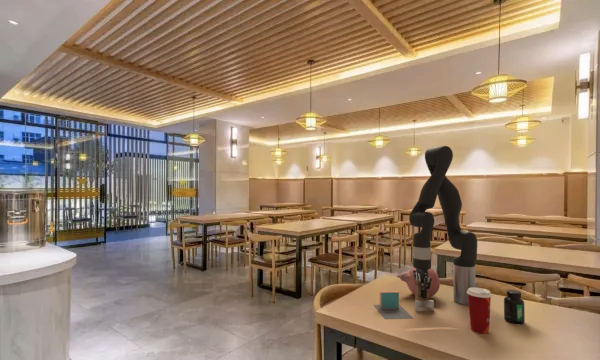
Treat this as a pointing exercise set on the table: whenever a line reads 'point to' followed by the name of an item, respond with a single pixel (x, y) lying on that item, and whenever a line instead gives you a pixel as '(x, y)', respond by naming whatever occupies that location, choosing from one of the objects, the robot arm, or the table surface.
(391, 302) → the tile
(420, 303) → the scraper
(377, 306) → the mat
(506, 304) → the supplement bottle
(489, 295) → the coffee cup
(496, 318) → the table surface
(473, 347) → the table surface
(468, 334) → the table surface
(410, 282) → the pink rounded piece
